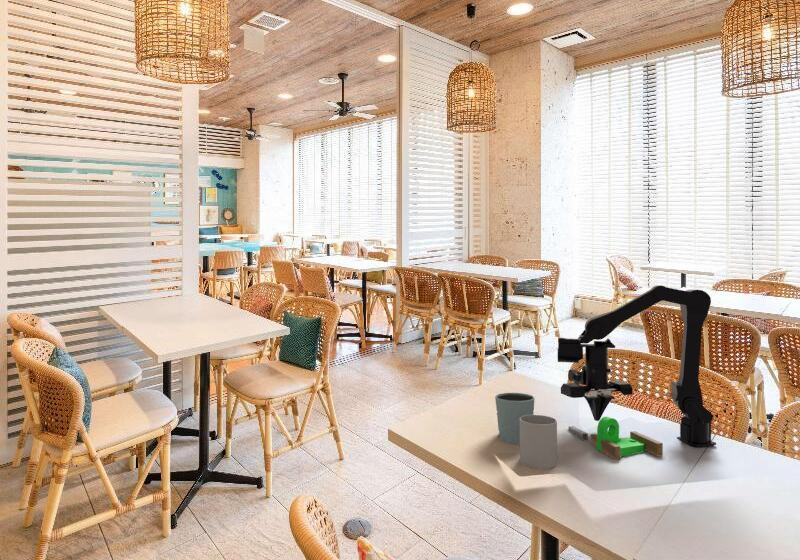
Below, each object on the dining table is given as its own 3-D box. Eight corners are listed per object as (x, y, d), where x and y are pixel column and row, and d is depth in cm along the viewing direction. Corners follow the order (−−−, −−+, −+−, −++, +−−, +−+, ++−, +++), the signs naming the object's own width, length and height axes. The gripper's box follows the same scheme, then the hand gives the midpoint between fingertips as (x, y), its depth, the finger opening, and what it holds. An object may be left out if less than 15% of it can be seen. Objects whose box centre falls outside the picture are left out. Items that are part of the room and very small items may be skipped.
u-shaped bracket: (572, 434, 137) (572, 425, 137) (589, 444, 129) (589, 434, 129) (532, 437, 134) (532, 428, 134) (546, 447, 127) (546, 437, 127)
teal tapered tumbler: (539, 448, 126) (538, 400, 126) (499, 448, 126) (499, 400, 126) (529, 435, 136) (529, 392, 136) (492, 435, 136) (492, 392, 136)
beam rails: (635, 442, 130) (635, 431, 130) (662, 455, 120) (662, 443, 120) (590, 446, 127) (590, 434, 127) (615, 459, 118) (614, 446, 118)
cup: (557, 458, 119) (557, 416, 119) (556, 470, 111) (556, 426, 111) (521, 454, 121) (521, 413, 122) (518, 466, 114) (517, 422, 114)
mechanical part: (616, 456, 119) (618, 423, 119) (596, 449, 124) (597, 417, 124) (649, 451, 124) (651, 419, 124) (628, 444, 130) (630, 414, 130)
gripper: (608, 358, 146) (609, 411, 145) (550, 360, 142) (550, 414, 142) (633, 364, 135) (634, 421, 134) (571, 366, 131) (572, 425, 131)
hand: (596, 420), depth 136 cm, fingers closed
